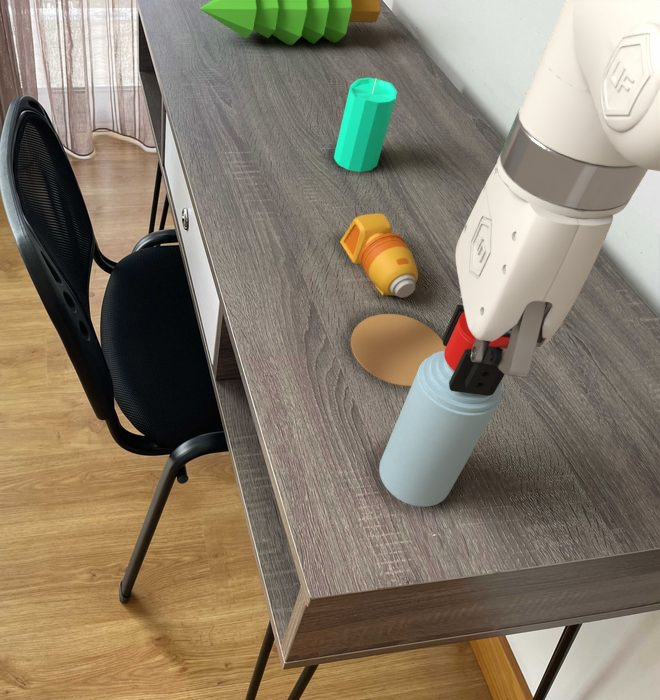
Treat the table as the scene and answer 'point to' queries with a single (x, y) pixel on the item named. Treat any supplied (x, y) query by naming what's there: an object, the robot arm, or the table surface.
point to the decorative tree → (293, 17)
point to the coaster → (394, 347)
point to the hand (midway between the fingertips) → (466, 366)
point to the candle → (365, 124)
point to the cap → (465, 342)
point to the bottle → (434, 435)
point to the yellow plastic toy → (381, 255)
